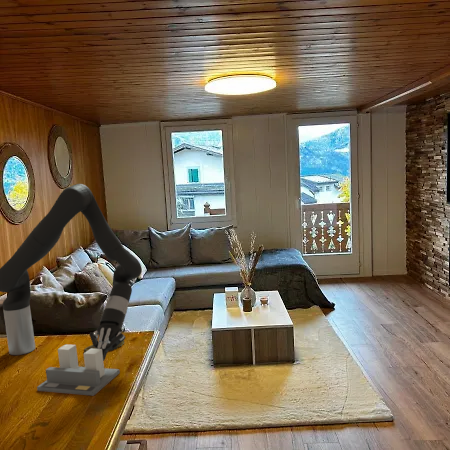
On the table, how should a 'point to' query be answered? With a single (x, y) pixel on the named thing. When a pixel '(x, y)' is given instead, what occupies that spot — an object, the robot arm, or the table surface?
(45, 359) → the table surface
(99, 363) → the tall white pillar block
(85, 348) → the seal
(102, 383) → the plate
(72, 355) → the white rectangular block
